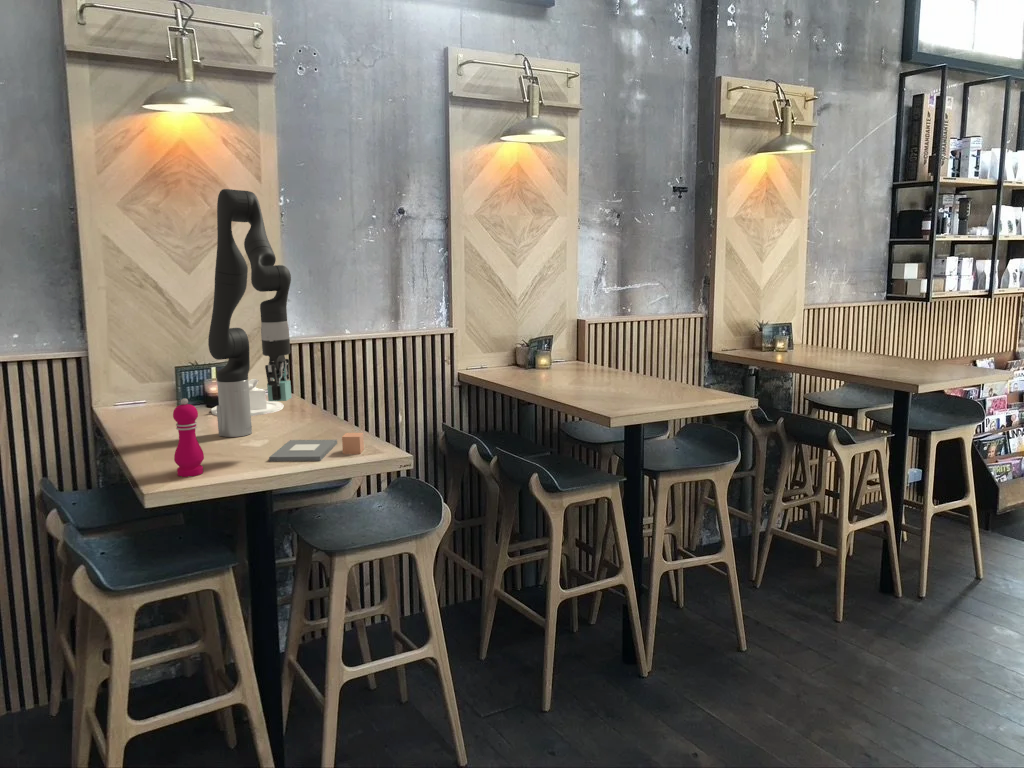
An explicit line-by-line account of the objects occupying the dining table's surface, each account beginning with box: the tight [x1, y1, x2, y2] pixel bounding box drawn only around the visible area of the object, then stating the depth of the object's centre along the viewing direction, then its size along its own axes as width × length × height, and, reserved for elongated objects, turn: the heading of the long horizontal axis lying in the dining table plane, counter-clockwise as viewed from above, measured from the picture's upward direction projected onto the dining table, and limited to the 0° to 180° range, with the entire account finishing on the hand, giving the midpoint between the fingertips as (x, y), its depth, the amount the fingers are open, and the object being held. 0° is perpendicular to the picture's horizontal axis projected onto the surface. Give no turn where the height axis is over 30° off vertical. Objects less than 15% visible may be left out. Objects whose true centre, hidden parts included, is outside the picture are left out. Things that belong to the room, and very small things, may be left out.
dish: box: [210, 378, 285, 417], centre depth 305 cm, size 25×25×11 cm
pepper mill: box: [172, 397, 205, 478], centre depth 219 cm, size 7×7×20 cm
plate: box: [268, 439, 338, 462], centre depth 241 cm, size 14×20×1 cm
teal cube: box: [266, 380, 292, 402], centre depth 238 cm, size 5×5×5 cm
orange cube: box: [341, 432, 365, 455], centre depth 241 cm, size 5×5×5 cm
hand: (280, 397), depth 238 cm, fingers closed on teal cube, 5 cm apart
